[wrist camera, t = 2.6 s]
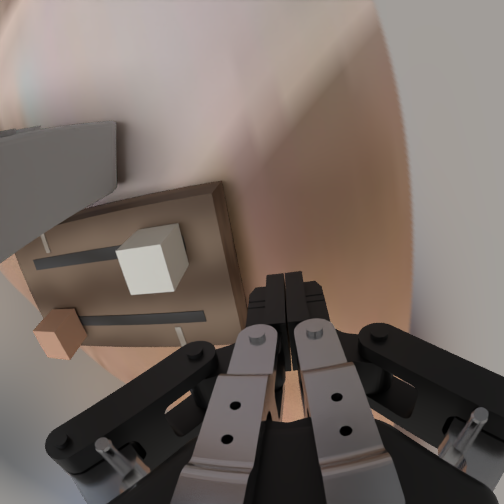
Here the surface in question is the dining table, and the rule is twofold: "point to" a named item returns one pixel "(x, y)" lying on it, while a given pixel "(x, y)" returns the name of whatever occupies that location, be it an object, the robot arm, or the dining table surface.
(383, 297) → the dining table surface
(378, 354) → the robot arm
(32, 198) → the rounded white slab
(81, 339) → the block
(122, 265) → the block
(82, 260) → the console
